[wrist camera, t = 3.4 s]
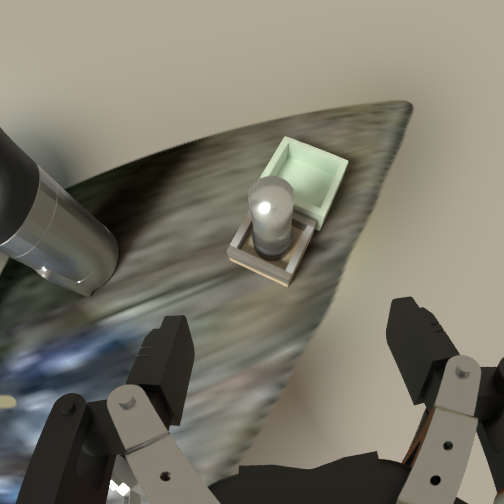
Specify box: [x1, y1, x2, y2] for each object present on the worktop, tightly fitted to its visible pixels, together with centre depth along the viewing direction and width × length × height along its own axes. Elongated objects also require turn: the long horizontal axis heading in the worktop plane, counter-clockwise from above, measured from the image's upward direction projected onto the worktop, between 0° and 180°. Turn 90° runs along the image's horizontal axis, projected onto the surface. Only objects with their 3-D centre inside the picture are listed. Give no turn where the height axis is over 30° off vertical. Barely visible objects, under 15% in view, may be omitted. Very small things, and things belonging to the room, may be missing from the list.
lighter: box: [109, 456, 140, 504], centre depth 24 cm, size 7×2×8 cm, turn 51°
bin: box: [260, 136, 348, 231], centre depth 37 cm, size 9×9×4 cm
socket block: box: [227, 210, 317, 287], centre depth 35 cm, size 7×7×3 cm
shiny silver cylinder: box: [248, 176, 294, 261], centre depth 30 cm, size 4×4×11 cm
